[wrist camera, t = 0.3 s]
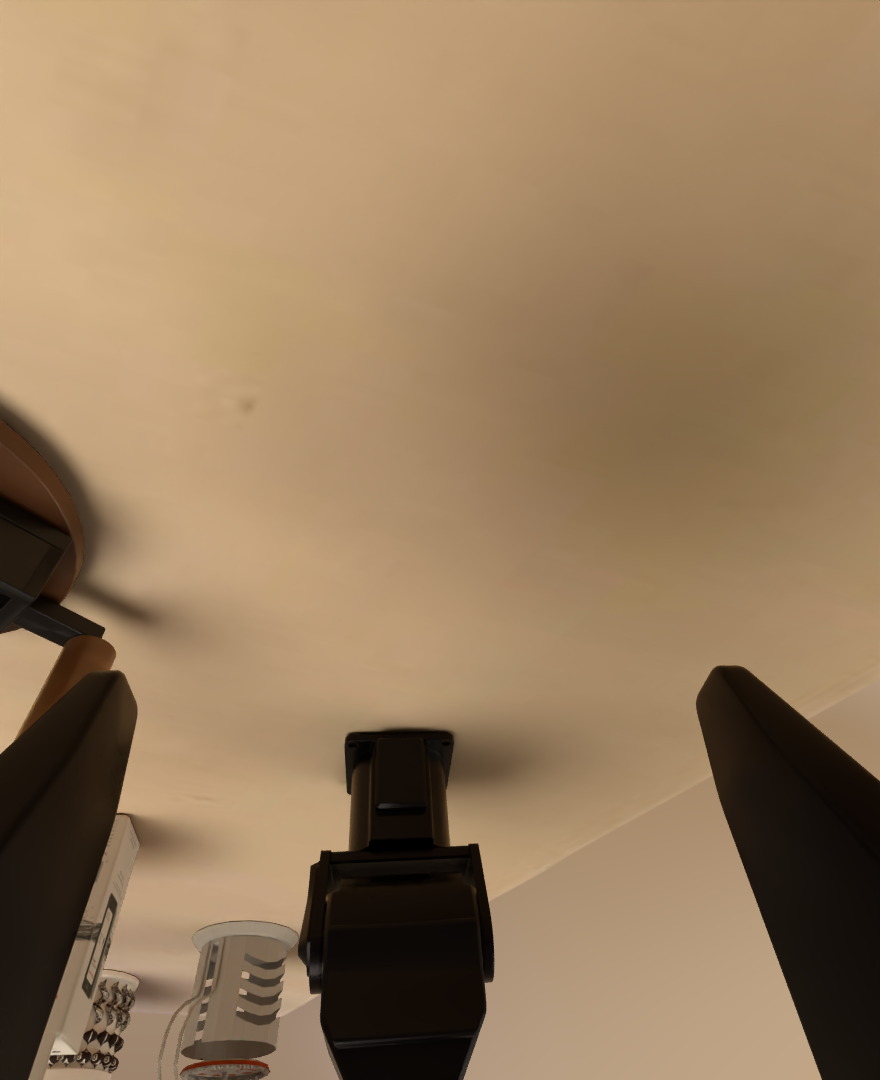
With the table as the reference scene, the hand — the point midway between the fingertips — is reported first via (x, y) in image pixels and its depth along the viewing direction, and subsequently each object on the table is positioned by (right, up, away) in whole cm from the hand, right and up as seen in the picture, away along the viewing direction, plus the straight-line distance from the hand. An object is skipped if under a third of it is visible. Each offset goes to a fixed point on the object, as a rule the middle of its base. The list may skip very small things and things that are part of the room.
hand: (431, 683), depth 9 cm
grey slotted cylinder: (-19, -35, +47) cm, 62 cm away
